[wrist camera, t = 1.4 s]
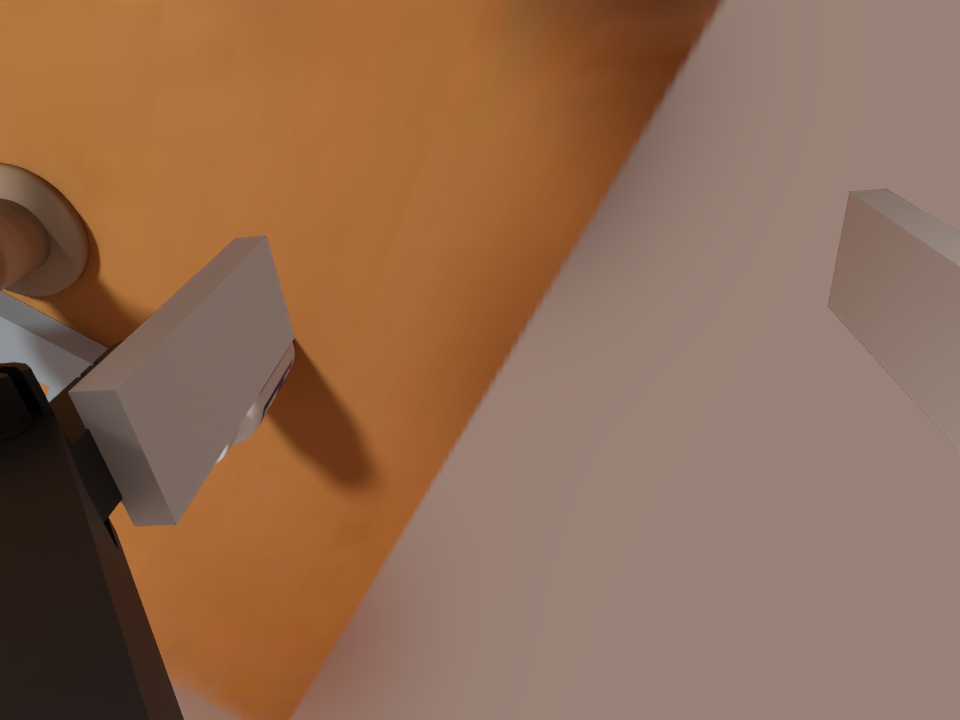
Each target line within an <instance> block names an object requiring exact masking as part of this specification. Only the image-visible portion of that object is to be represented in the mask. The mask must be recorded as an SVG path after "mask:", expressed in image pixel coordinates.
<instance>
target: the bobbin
mask: <svg viewBox="0 0 960 720" xmlns="http://www.w3.org/2000/svg"><path fill="white" fill-rule="evenodd" d="M88 258H89V243H88V237H87V234H86V231H85V228H84V225H83V223H82V221H81V219H80V217H79V215H78V214H77V212H76V210H75V209H74V208H73V206H72V205H71V203H70V202H69V201H68V200H67V199H66V198H65V197H64V195H63V194H62V193H60V192H59V191H58V190H57V189H56V188H55V187H54V186H53V185H51V184H50V183H49V182H47V181H46V180H44V179H43V178H41V177H40V176H38V175H36V174H34V173H32V172H30V171H28V170H26V169H23V168H21V167H17V166H14V165H10V164H4V163H0V291H1V290H3V289H6V290H9V291H11V292H14V293H18V294H22V295H27V296H48V295H53V294H56V293H58V292H61V291H62V290H64V289H66V288H67V287H69V286H70V285H71V284H73V283H74V282H75V281H77V280H78V279H79V278H80V276H81V275H82V274H83V272H84V270H85V268H86V266H87V263H88Z"/></svg>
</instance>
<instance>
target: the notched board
mask: <svg viewBox="0 0 960 720" xmlns="http://www.w3.org/2000/svg"><path fill="white" fill-rule="evenodd" d="M107 349H109V348H107V347H105V346H104V345H102V344H100V343H98V342H96V341H94V340H92V339H90V338H88V337H87V336H85V335H83V334H81V333H79V332H77V331H75V330H73V329H71V328H70V327H68V326H66V325H64V324H62V323H60V322H58V321H56V320H55V319H53V318H51V317H49V316H47V315H45V314H43V313H41V312H39V311H38V310H36V309H34V308H32V307H30V306H28V305H26V304H24V303H22V302H21V301H19V300H17V299H15V298H13V297H11V296H9V295H7V294H5V293H4V292H2V291H0V362H1V363H10V362H18V363H26V364H27V365H28V366H29V367H30V368H31V369H32V371H33V373H34V375H35V377H36V379H37V381H38V382H40V383H42V384H44V385H46V386H48V387H50V388H49V391H48V393H47V396H46V398H47V400H48V402H50V401H51V400H52V399H53V398H54V397H55V396H57V395H58V394H59V393H60V392H61V391H62V390H63V389H64V388H65V387H67V386H68V385H69V384H70V383H71V382H72V381H73V380H74V379H75V378H76V377H80V374H81V373H82V372H83V371H84V370H85V369H86V368H88V367H89V366H90V365H93V362H94V361H95V360H96V359H97V358H99V357H100V356H101V355H102V354H103V353H104V352H105V351H106V350H107Z"/></svg>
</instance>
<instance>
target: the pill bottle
mask: <svg viewBox="0 0 960 720" xmlns="http://www.w3.org/2000/svg"><path fill="white" fill-rule="evenodd" d="M294 359H295V350H294V345H293V342H292V343H291V344H290V346H289V347H288V349H287V351H286V352H285V354H284V355H283V357H282V359H281V360H280V362H279V363H278V365H277V366H276V368H275V370H274V371H273V373H272V374H271V376H270V378H269V379H268V381H267V382H266V384H265V386H264V387H263V389H262V390H261V392H260V393H259V395H258V397H257V398H256V400H255V401H254V403H253V405H252V406H251V408H250V409H249V411H248V412H247V414H246V416H245V417H244V419H243V420H242V422H241V424H240V425H239V427H238V428H237V430H236V431H235V433H234V435H233V436H232V438H231V439H230V441H229V443H228V444H227V446H226V447H225V449H224V451H223V452H222V454H221V455H220V457H219V458H218V460H217V462H216V463H218V462H219V461H221V460H222V459H223V458H224V457H225V456H226V454H227V453H228V451H229V450H230V448H231V446H232V445H236V444H239V443H241V442H243V441H245V440H247V439H248V438H249V437H250V436H252V435H253V433H254V432H255V431H256V430H257V428H258V426H259V425H260V423H261V422H262V420H263V418H264V416H265V415H266V413H267V411H268V409H269V408H270V406H271V404H272V403H273V401H274V399H275V397H276V396H277V394H278V392H279V390H280V389H281V387H282V385H283V383H284V382H285V380H286V378H287V376H288V375H289V373H290V371H291V368H292V366H293V363H294ZM216 463H215V464H216Z"/></svg>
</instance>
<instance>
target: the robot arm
mask: <svg viewBox="0 0 960 720" xmlns="http://www.w3.org/2000/svg"><path fill="white" fill-rule="evenodd" d="M828 307H829V308H830V310H831V311H832V312H833V313H834V314H835V315H836V316H837V317H838V318H839V319H840V321H841V322H842V323H843V324H844V325H845V326H846V327H847V328H848V329H849V331H850V332H851V333H852V334H853V335H854V336H855V337H856V338H857V339H858V340H859V342H860V343H862V345H863V346H864V347H865V348H866V349H867V350H868V351H869V353H870V354H871V355H872V356H873V357H874V358H875V359H876V360H877V361H878V363H879V364H881V366H882V367H883V368H884V369H885V370H886V371H887V373H888V374H889V375H890V376H891V377H892V378H893V379H894V380H895V381H896V382H897V383H898V385H899V386H900V387H901V388H902V389H903V390H904V391H905V392H906V393H907V395H908V396H909V397H910V398H911V399H912V400H913V401H914V402H915V403H916V405H917V406H918V407H919V408H920V409H921V410H922V411H923V412H924V413H925V414H926V416H927V417H928V418H929V419H930V420H931V421H932V422H933V423H934V424H935V426H936V427H937V428H938V429H939V430H940V431H941V432H942V433H943V434H944V435H945V437H947V439H948V440H949V441H950V442H951V443H952V444H953V445H954V447H955V448H956V449H957V450H958V451H959V452H960V233H959V232H958V231H956V230H955V229H953V228H951V227H949V226H948V225H946V224H945V223H943V222H941V221H940V220H938V219H936V218H934V217H933V216H931V215H930V214H928V213H926V212H925V211H923V210H921V209H920V208H918V207H916V206H914V205H913V204H911V203H910V202H908V201H906V200H905V199H903V198H901V197H899V196H898V195H896V194H895V193H893V192H891V191H889V190H888V189H880V190H865V191H852V192H849V197H848V202H847V207H846V213H845V218H844V223H843V228H842V234H841V239H840V244H839V249H838V255H837V260H836V265H835V271H834V276H833V281H832V286H831V291H830V297H829V302H828ZM294 338H295V337H294V334H293V330H292V326H291V323H290V319H289V316H288V312H287V308H286V305H285V301H284V297H283V294H282V290H281V286H280V283H279V279H278V275H277V272H276V268H275V264H274V261H273V257H272V254H271V250H270V246H269V243H268V239H267V236H256V237H243V238H235V239H234V240H233V241H232V242H231V243H230V244H229V245H228V246H226V247H225V248H224V249H223V250H222V251H221V252H220V253H219V254H218V255H217V256H216V257H214V258H213V259H212V260H211V261H210V262H209V263H208V264H207V265H206V266H205V267H204V268H203V269H201V270H200V271H199V272H198V273H197V274H196V275H195V276H194V277H193V278H192V279H191V280H189V281H188V282H187V283H186V284H185V285H184V286H183V287H182V288H181V289H180V290H179V291H177V292H176V293H175V294H174V295H173V296H172V297H171V298H170V299H169V300H168V301H167V302H165V303H164V304H163V305H162V306H161V307H160V308H159V309H158V310H157V311H156V312H155V313H154V314H152V315H151V316H150V317H149V318H148V319H147V320H146V321H145V322H144V323H143V324H142V325H140V326H139V327H138V328H137V329H136V330H135V331H134V332H133V333H132V334H131V335H130V336H128V337H127V338H126V339H124V340H122V341H121V342H119V343H117V344H115V345H114V346H112V347H110V348H109V349H107V350H106V351H105V352H104V353H103V354H102V355H101V356H100V357H99V358H97V359H96V360H95V361H94V362H93V365H90V366H89V367H88V368H86V369H85V370H84V371H83V372H82V373H81V374H80V377H76V378H75V379H74V380H73V381H72V382H71V383H70V384H69V385H68V386H67V387H65V388H64V389H63V390H62V391H61V392H60V393H59V394H58V395H57V396H55V397H54V398H53V399H52V400H51V401H50V402H48V400H47V398H46V396H45V394H44V392H43V390H42V388H41V386H40V384H39V382H38V381H37V379H36V377H35V375H34V373H33V371H32V369H31V368H30V367H29V366H28V365H27V364H26V363H18V362H10V363H1V364H0V720H184V719H183V716H182V713H181V710H180V707H179V705H178V702H177V699H176V696H175V694H174V691H173V688H172V685H171V682H170V680H169V677H168V674H167V671H166V669H165V666H164V663H163V660H162V657H161V655H160V652H159V649H158V646H157V644H156V641H155V638H154V635H153V632H152V630H151V627H150V624H149V621H148V619H147V616H146V613H145V610H144V607H143V605H142V602H141V599H140V596H139V594H138V591H137V588H136V585H135V582H134V580H133V577H132V574H131V571H130V569H129V566H128V563H127V560H126V558H125V555H124V552H123V549H122V546H121V544H120V541H119V538H118V535H117V533H116V531H115V529H114V527H113V525H112V523H111V521H110V519H109V515H110V514H111V513H112V511H113V510H114V509H115V507H116V506H117V505H118V503H119V502H120V501H121V500H122V502H123V504H124V506H125V508H126V510H127V512H128V514H129V516H130V518H131V520H132V522H133V524H134V526H153V525H177V523H178V522H179V520H180V519H181V517H182V516H183V514H184V512H185V511H186V509H187V508H188V506H189V504H190V503H191V501H192V500H193V498H194V496H195V495H196V493H197V492H198V490H199V489H200V487H201V485H202V484H203V482H204V481H205V479H206V477H207V476H208V474H209V473H210V471H211V470H212V468H213V466H214V465H215V463H216V462H217V460H218V458H219V457H220V455H221V454H222V452H223V451H224V449H225V447H226V446H227V444H228V443H229V441H230V439H231V438H232V436H233V435H234V433H235V431H236V430H237V428H238V427H239V425H240V424H241V422H242V420H243V419H244V417H245V416H246V414H247V412H248V411H249V409H250V408H251V406H252V405H253V403H254V401H255V400H256V398H257V397H258V395H259V393H260V392H261V390H262V389H263V387H264V386H265V384H266V382H267V381H268V379H269V378H270V376H271V374H272V373H273V371H274V370H275V368H276V366H277V365H278V363H279V362H280V360H281V359H282V357H283V355H284V354H285V352H286V351H287V349H288V347H289V346H290V344H291V343H292V341H293V340H294Z"/></svg>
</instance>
